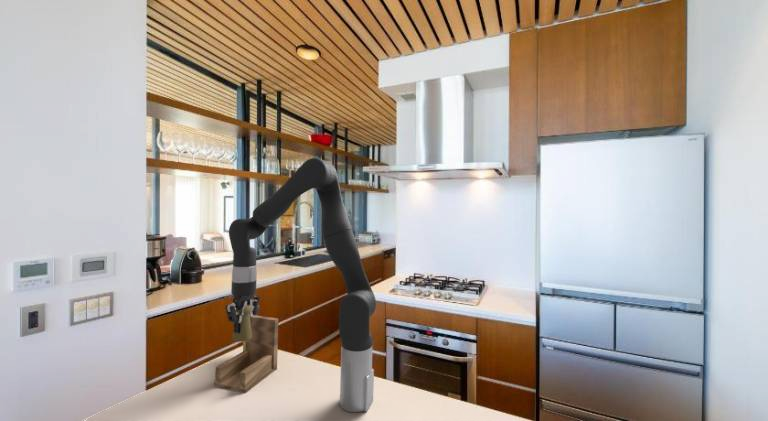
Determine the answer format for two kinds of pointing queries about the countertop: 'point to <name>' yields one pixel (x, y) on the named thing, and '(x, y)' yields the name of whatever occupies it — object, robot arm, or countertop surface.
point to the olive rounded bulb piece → (244, 326)
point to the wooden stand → (251, 358)
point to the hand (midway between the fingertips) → (242, 331)
